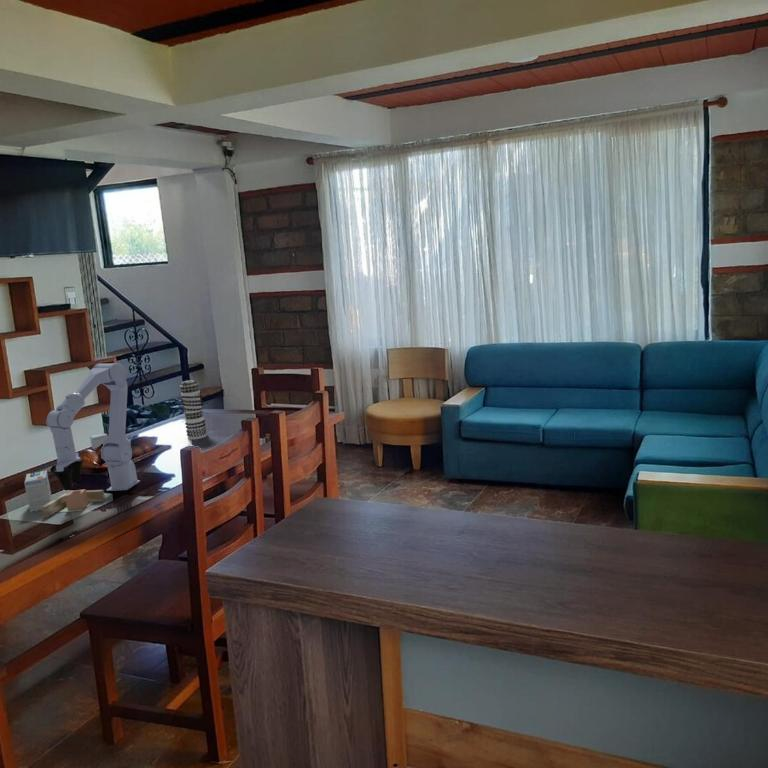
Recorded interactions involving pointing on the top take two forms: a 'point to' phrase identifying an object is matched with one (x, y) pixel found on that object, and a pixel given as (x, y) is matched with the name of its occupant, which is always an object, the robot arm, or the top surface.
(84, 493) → the cube
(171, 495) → the top surface
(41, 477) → the light bulb box
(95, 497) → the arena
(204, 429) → the decorative candle
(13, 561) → the top surface
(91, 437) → the skincare box
